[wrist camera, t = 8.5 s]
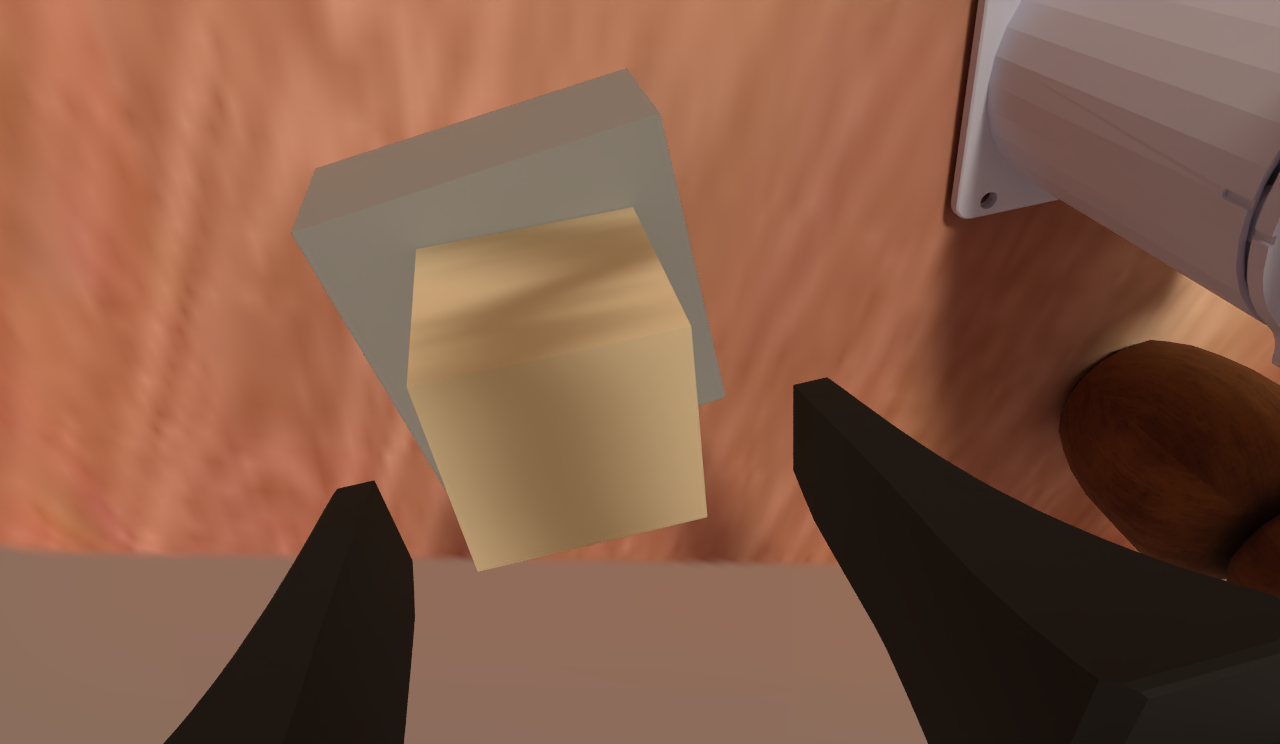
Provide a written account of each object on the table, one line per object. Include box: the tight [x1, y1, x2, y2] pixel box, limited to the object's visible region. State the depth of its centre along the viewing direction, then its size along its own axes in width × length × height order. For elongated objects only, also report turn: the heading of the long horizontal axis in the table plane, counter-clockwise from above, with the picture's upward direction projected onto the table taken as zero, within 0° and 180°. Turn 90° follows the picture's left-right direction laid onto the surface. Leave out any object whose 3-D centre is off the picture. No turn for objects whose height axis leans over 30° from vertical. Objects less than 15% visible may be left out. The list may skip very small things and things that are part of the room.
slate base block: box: [291, 68, 725, 490], centre depth 20 cm, size 8×8×4 cm
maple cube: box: [407, 207, 707, 572], centre depth 16 cm, size 5×5×5 cm
